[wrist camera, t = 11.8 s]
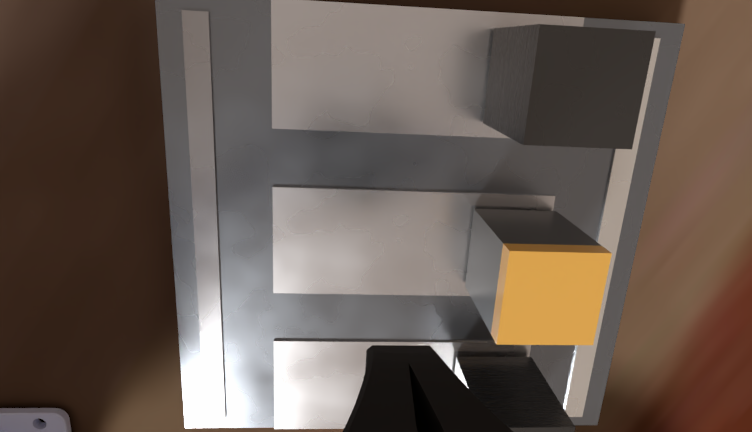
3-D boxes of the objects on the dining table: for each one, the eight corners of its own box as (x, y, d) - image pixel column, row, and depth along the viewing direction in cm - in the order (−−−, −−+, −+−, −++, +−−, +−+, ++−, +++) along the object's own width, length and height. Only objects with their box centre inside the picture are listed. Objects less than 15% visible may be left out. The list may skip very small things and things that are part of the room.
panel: (194, 403, 22) (148, 520, 17) (168, -5, 17) (93, -27, 12) (581, 402, 24) (655, 510, 18) (658, 25, 19) (791, 18, 13)
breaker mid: (465, 286, 20) (496, 344, 16) (473, 208, 19) (509, 250, 15) (543, 287, 20) (593, 345, 16) (556, 211, 19) (611, 253, 15)
